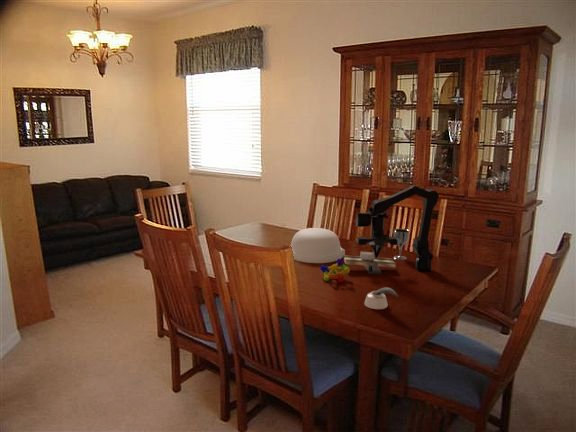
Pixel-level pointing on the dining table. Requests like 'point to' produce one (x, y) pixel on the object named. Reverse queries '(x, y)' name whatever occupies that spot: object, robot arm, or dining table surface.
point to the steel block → (367, 256)
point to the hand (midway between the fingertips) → (376, 257)
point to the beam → (381, 261)
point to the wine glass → (401, 241)
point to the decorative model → (335, 271)
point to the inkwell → (378, 298)
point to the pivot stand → (373, 268)
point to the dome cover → (316, 246)
